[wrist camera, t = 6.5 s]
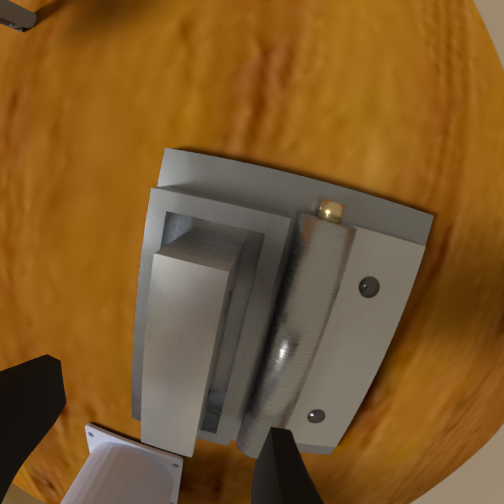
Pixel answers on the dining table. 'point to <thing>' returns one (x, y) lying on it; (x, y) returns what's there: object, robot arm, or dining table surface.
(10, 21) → the mechanical component
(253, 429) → the fixed leaf
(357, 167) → the dining table surface
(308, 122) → the dining table surface
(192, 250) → the brushed steel bar
